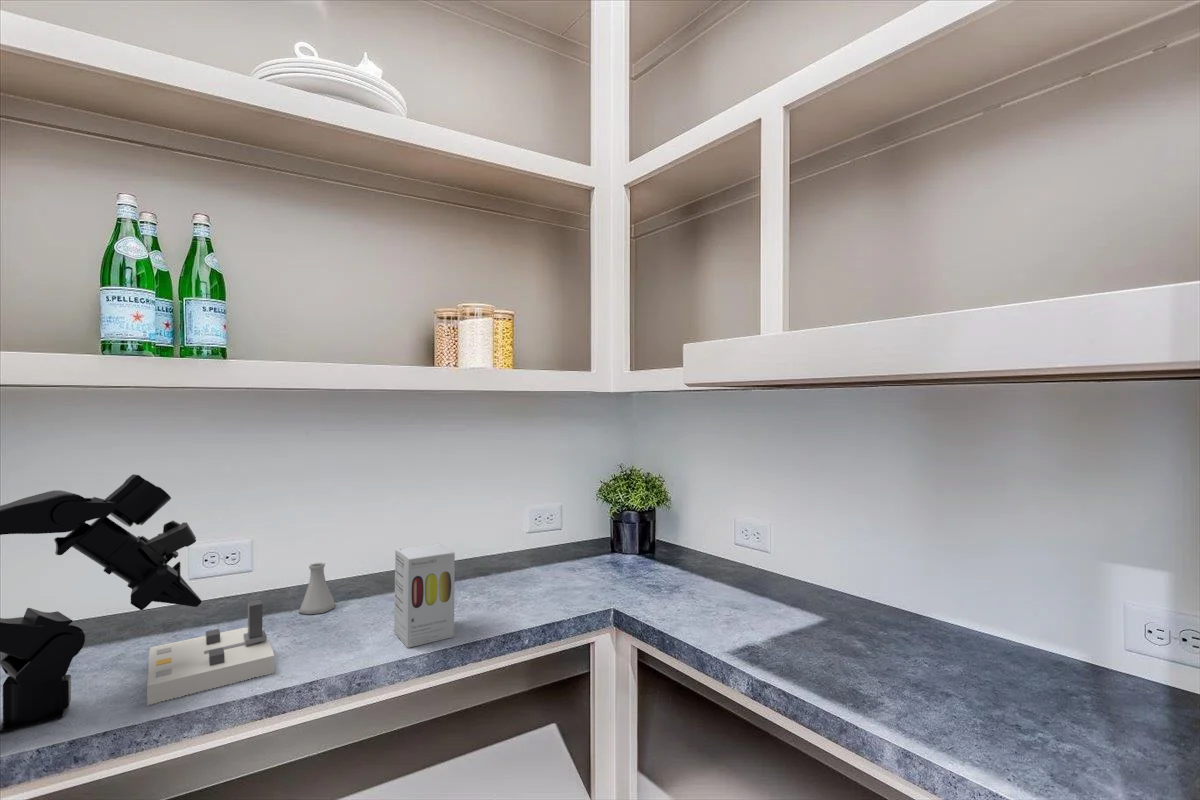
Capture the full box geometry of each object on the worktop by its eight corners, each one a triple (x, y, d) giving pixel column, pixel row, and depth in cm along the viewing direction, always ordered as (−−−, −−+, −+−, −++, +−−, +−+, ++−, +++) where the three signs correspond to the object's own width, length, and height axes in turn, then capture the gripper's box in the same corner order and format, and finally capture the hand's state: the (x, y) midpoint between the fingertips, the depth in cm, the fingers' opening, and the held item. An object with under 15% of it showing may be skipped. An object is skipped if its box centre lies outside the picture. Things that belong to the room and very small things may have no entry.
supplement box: (406, 649, 106) (406, 559, 106) (392, 632, 114) (392, 548, 114) (456, 636, 112) (455, 551, 112) (439, 621, 119) (439, 541, 119)
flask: (340, 603, 130) (340, 559, 130) (325, 615, 123) (325, 569, 123) (309, 603, 130) (309, 560, 130) (292, 615, 123) (292, 569, 123)
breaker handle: (245, 645, 100) (245, 607, 100) (243, 638, 103) (243, 601, 103) (266, 640, 102) (266, 603, 102) (263, 633, 105) (263, 598, 105)
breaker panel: (147, 705, 87) (147, 676, 87) (150, 664, 100) (150, 638, 100) (274, 672, 97) (274, 646, 97) (261, 639, 110) (261, 616, 110)
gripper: (159, 518, 87) (243, 578, 93) (162, 501, 102) (235, 554, 108) (89, 579, 82) (183, 638, 88) (104, 552, 97) (183, 603, 103)
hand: (199, 604), depth 97 cm, fingers closed
